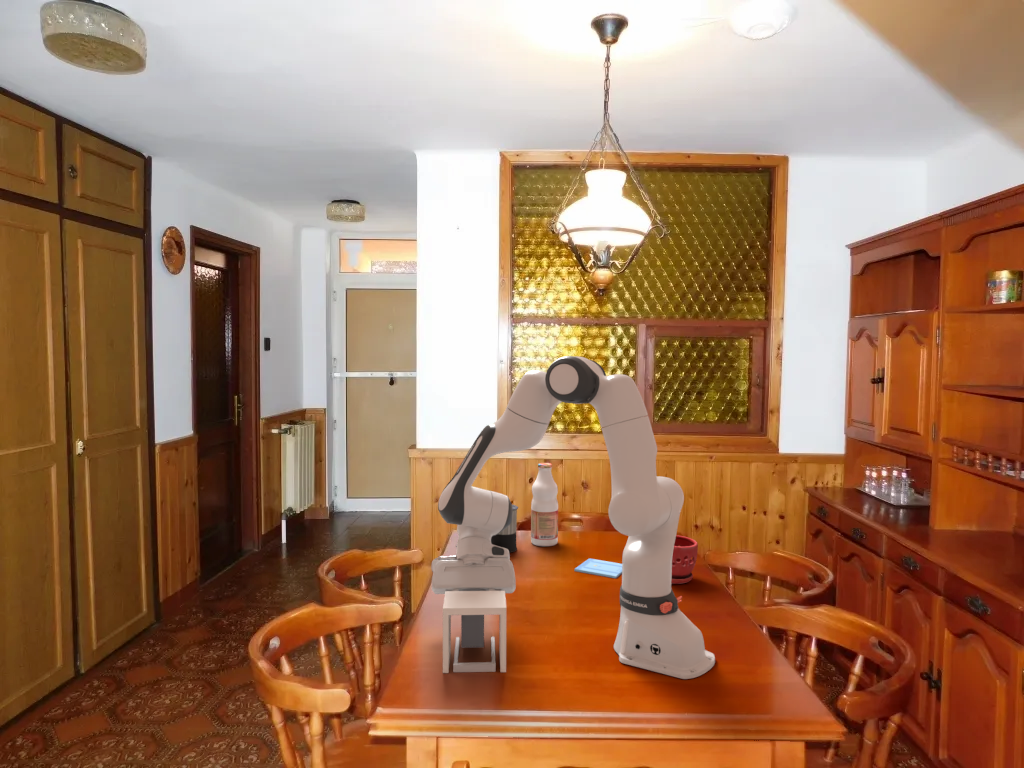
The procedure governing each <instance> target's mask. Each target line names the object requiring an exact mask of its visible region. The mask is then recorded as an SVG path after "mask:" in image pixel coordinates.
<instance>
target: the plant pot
mask: <svg viewBox="0 0 1024 768" xmlns="http://www.w3.org/2000/svg"><path fill="white" fill-rule="evenodd" d="M698 548H699V543H698V542H697V541H696V540H695V539H693V538H691V537H687V536H684V535H683V536H682V535H679V534H678V535H677V534H676V538H675V543H674V549H673V556H672V580H671V585H673V584H674V585H679V584H685V583H689V582H690V581H692V580H693V577H694V574H693V573H692V572H693V570H694V568H695V566H696V563H697V558H698Z"/></svg>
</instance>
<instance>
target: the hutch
mask: <svg viewBox="0 0 1024 768" xmlns="http://www.w3.org/2000/svg"><path fill="white" fill-rule="evenodd" d="M461 615H484V616H487V615H488V616H489V615H491V616H494V615H495V616H496V615H498V616H499V621H498V622H499V624H498V625H499V628H498V629H499V630H498V631H499V632H498V633H499V635H498V636H499V638H498V639H499V644H498V646H499V647H498V648H499V650H498V652H499V654H498V655H499V668H500V669H499V671H500V673H507V599H506V593H505V591H445V594H444V598H443V605H442V674H449V670H450V664H451V653H452V650H451V649H452V645H451V643H452V641H451V638H452V637H451V634H452V633H451V630H452V629H451V628H452V627H451V626H452V625H451V623H452V622H451V621H452V620H451V618H452V616H461ZM460 642H461V636H455V645H454V656H453V657H454V659H453V665H452V666H453V667H452V668H453V669H452V671H453V673H487V672H489V673H490V672H491V673H492V672H493V673H495V672H496V668H497V667H496V665H497V664H496V663H497V662H496V639H495V636H491V637H490V645H491V646H490V648H491V649H490V651H491V652H490V654H491V661H486V662H483V661H482V662H481V661H480V662H479V661H478V662H476V661H475V662H474V661H473V662H459V651H460Z"/></svg>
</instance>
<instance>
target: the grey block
mask: <svg viewBox="0 0 1024 768" xmlns="http://www.w3.org/2000/svg"><path fill="white" fill-rule="evenodd" d="M460 616H461V621H460V622H461V624H460V626H461V627H460V628H461V629H460V632H461V633H460V635H461V636H460V644H461V646H460V647H461V648H462V649H464V648H468V649H469V648H485V615H460Z"/></svg>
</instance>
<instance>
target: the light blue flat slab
mask: <svg viewBox="0 0 1024 768" xmlns="http://www.w3.org/2000/svg"><path fill="white" fill-rule="evenodd" d="M574 572H577V573H583V574H589V575H594V576H598V577H599V576H601V577H605V578H610V579H611V578H612V579H618V578H619V577H620V576H622V563H618V562H614V561H606V560H601V559H595V558H589V557H588V559H586V560H585V561H583V562H582V563H581V564H579V565H578V566H577V567H575V568H574Z"/></svg>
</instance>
